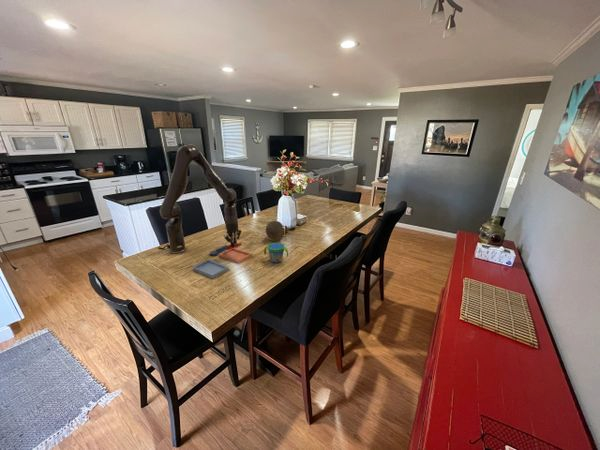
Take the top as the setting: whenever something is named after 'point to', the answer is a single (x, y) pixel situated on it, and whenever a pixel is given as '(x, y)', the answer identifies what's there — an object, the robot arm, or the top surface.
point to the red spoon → (234, 246)
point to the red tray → (236, 255)
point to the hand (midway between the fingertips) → (234, 246)
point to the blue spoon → (218, 250)
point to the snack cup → (276, 251)
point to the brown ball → (275, 231)
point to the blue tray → (210, 268)
